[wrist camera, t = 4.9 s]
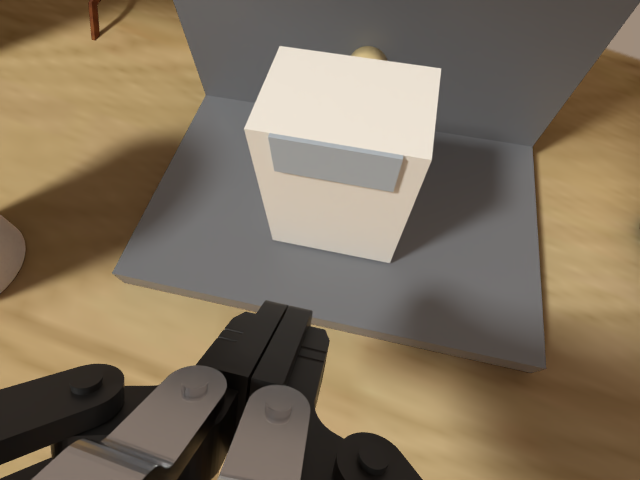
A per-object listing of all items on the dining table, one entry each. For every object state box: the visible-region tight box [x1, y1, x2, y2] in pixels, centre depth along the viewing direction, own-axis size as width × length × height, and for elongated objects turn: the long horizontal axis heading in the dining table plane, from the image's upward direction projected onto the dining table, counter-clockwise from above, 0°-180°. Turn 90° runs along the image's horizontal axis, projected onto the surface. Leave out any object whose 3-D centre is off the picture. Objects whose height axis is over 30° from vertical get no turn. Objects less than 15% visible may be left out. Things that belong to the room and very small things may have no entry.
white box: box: [244, 46, 441, 263], centre depth 18 cm, size 7×5×9 cm
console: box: [112, 0, 640, 373], centre depth 19 cm, size 24×20×14 cm
